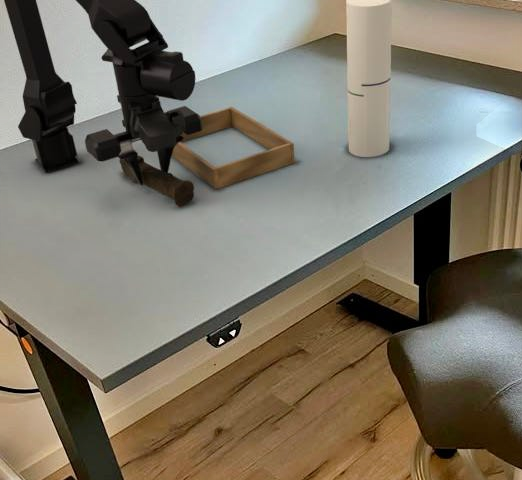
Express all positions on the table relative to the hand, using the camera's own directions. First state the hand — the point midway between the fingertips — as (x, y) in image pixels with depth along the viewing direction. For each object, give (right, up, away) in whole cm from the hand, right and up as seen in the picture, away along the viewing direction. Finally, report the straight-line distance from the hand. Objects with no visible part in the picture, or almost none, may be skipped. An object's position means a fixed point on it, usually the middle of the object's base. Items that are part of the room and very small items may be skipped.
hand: (153, 180), depth 135 cm
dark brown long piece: (0, -2, +1) cm, 2 cm away
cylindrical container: (+38, +7, +6) cm, 39 cm away
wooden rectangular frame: (+12, +7, +9) cm, 17 cm away
